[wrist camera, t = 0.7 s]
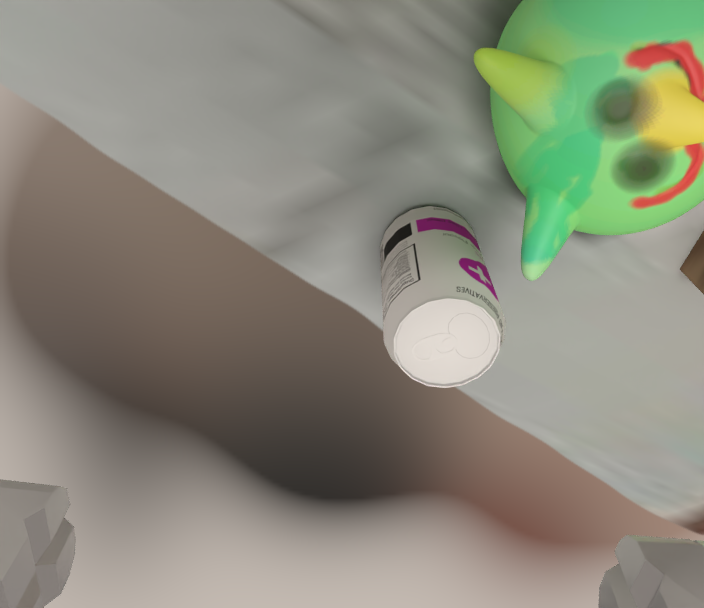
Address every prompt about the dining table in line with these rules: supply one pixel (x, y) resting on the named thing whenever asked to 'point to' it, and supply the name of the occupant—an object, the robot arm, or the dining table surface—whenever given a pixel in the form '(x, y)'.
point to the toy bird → (598, 116)
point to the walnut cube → (695, 264)
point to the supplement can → (438, 299)
